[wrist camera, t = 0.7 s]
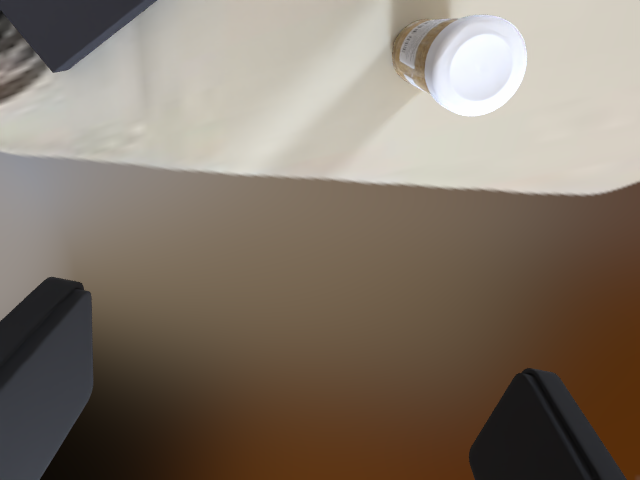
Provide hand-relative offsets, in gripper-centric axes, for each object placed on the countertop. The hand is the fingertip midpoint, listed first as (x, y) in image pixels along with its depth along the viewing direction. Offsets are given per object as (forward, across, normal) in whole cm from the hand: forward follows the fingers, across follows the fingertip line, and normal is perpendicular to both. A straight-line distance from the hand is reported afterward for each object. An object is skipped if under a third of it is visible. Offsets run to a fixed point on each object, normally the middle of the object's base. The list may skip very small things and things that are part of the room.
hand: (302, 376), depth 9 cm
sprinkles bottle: (+28, -7, -6) cm, 30 cm away
